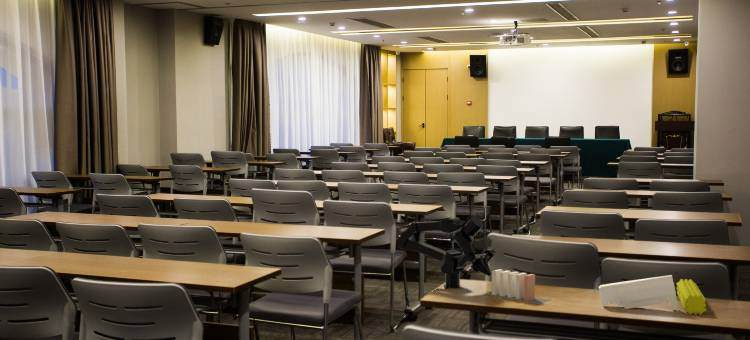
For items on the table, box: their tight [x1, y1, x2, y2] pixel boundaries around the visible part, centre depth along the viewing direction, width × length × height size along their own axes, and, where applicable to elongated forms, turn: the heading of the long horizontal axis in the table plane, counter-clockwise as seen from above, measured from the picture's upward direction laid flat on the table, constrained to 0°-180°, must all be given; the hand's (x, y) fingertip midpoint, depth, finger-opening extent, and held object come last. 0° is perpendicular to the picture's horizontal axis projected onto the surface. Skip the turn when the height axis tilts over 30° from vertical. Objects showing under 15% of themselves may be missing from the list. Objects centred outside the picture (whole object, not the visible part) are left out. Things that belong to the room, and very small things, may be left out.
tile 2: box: [500, 270, 511, 296], centre depth 287 cm, size 2×5×9 cm, turn 138°
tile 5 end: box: [524, 273, 536, 301], centre depth 280 cm, size 2×5×9 cm, turn 138°
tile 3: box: [508, 271, 520, 298], centre depth 285 cm, size 2×5×9 cm, turn 138°
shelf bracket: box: [598, 274, 680, 312], centre depth 269 cm, size 6×25×13 cm, turn 77°
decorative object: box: [676, 278, 707, 316], centre depth 275 cm, size 7×33×7 cm, turn 163°
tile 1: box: [491, 268, 504, 295], centre depth 290 cm, size 2×5×9 cm, turn 138°
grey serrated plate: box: [482, 291, 551, 305], centre depth 284 cm, size 24×9×1 cm, turn 48°
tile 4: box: [516, 272, 528, 299], centre depth 283 cm, size 2×5×9 cm, turn 137°
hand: (490, 275), depth 292 cm, fingers closed
